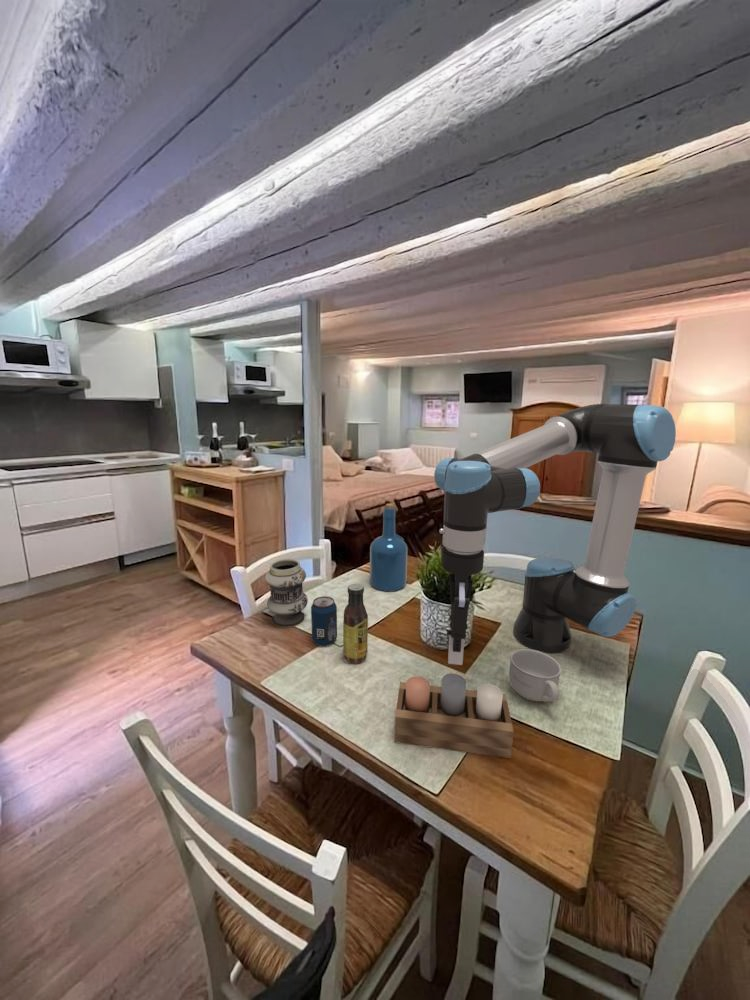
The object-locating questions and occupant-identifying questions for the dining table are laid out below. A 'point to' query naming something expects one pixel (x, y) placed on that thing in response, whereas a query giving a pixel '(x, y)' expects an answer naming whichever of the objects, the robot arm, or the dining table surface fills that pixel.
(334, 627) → the soda can
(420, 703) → the peach egg
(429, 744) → the wooden compartment box
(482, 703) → the white egg
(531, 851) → the dining table surface
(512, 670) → the teacup
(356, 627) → the sauce bottle
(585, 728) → the dining table surface
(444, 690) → the grey rounded cylinder
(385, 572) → the wine bottle
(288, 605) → the apothecary jar
